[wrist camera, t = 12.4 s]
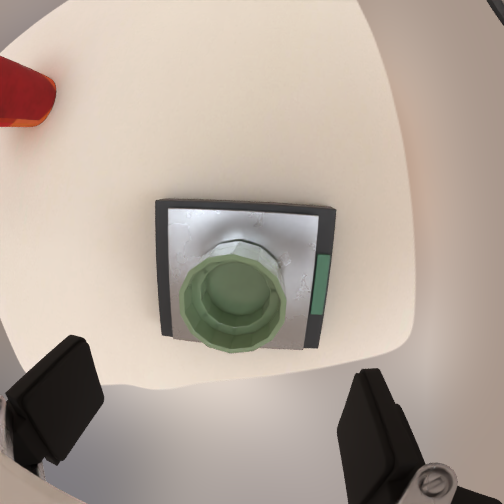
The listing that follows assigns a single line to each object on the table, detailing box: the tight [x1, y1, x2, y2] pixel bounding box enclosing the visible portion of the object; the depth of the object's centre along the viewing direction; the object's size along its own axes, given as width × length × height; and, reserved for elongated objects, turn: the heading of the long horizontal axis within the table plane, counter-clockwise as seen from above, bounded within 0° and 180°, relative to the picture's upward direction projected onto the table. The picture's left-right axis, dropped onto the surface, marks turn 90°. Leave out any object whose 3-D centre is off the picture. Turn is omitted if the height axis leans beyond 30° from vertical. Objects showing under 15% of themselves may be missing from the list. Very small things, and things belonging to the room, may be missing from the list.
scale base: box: [155, 199, 336, 348], centre depth 23 cm, size 14×12×2 cm
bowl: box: [179, 241, 287, 353], centre depth 20 cm, size 7×7×4 cm
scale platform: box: [168, 208, 319, 350], centre depth 22 cm, size 11×11×1 cm
